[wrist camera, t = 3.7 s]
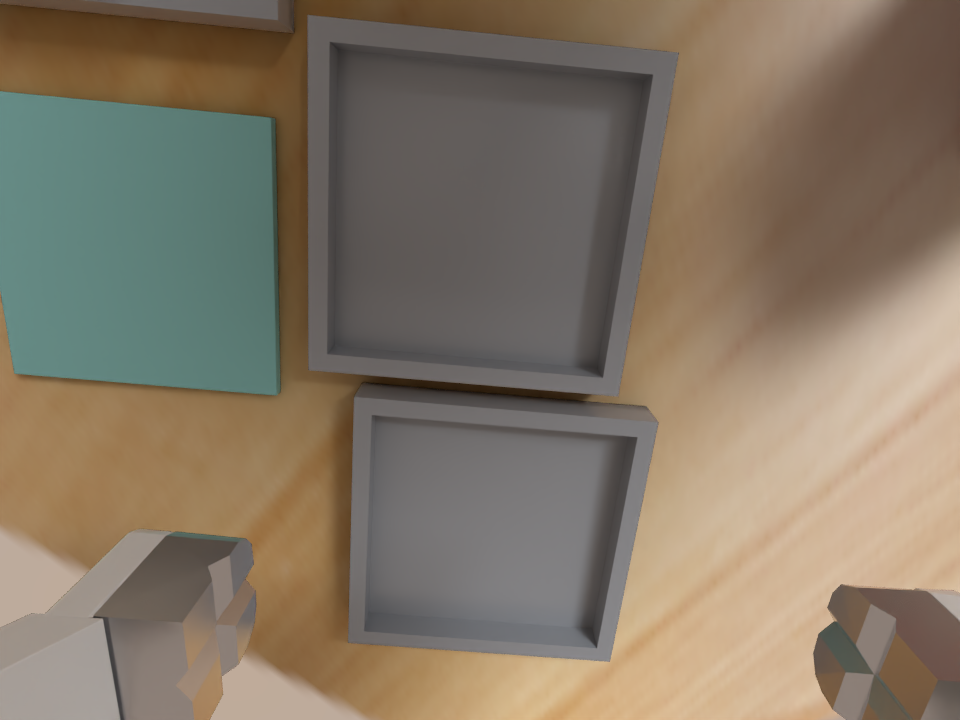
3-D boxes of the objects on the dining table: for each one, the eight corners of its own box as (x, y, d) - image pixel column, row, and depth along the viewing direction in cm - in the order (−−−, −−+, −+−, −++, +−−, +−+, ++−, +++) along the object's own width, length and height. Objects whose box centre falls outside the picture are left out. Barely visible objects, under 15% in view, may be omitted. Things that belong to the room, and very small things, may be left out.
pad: (275, 118, 17) (270, 117, 17) (280, 391, 20) (276, 395, 20) (-23, 90, 17) (-35, 88, 17) (23, 369, 20) (14, 373, 19)
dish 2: (646, 406, 20) (658, 422, 19) (602, 634, 23) (609, 661, 22) (362, 382, 20) (353, 396, 18) (355, 616, 23) (348, 642, 22)
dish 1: (663, 63, 17) (679, 52, 15) (608, 381, 20) (618, 396, 18) (321, 28, 16) (307, 14, 15) (320, 357, 20) (308, 370, 18)
